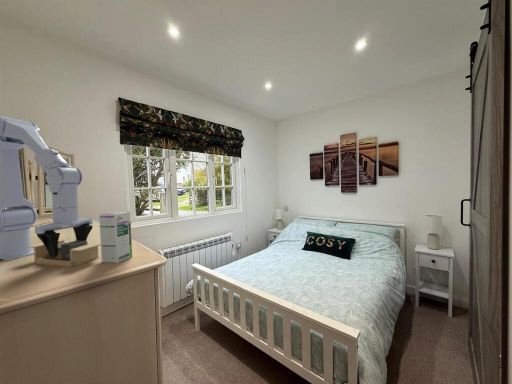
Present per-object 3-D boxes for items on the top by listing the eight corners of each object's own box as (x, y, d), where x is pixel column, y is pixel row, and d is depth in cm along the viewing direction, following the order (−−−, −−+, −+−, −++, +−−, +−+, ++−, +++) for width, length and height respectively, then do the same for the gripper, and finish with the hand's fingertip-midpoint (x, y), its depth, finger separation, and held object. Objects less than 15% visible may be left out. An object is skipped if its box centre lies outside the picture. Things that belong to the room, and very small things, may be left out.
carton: (27, 262, 64) (26, 246, 64) (56, 254, 72) (55, 239, 72) (80, 268, 60) (80, 250, 59) (106, 258, 67) (105, 242, 67)
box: (46, 261, 65) (45, 243, 64) (63, 256, 69) (62, 239, 69) (72, 264, 62) (71, 245, 62) (88, 258, 67) (87, 241, 66)
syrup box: (117, 263, 63) (115, 213, 62) (100, 262, 64) (98, 213, 64) (132, 257, 68) (131, 211, 68) (116, 256, 70) (115, 210, 69)
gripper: (47, 210, 57) (50, 261, 58) (99, 205, 71) (100, 246, 72) (28, 210, 59) (30, 259, 59) (82, 204, 73) (84, 245, 73)
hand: (67, 252), depth 66 cm, fingers open, 7 cm apart
